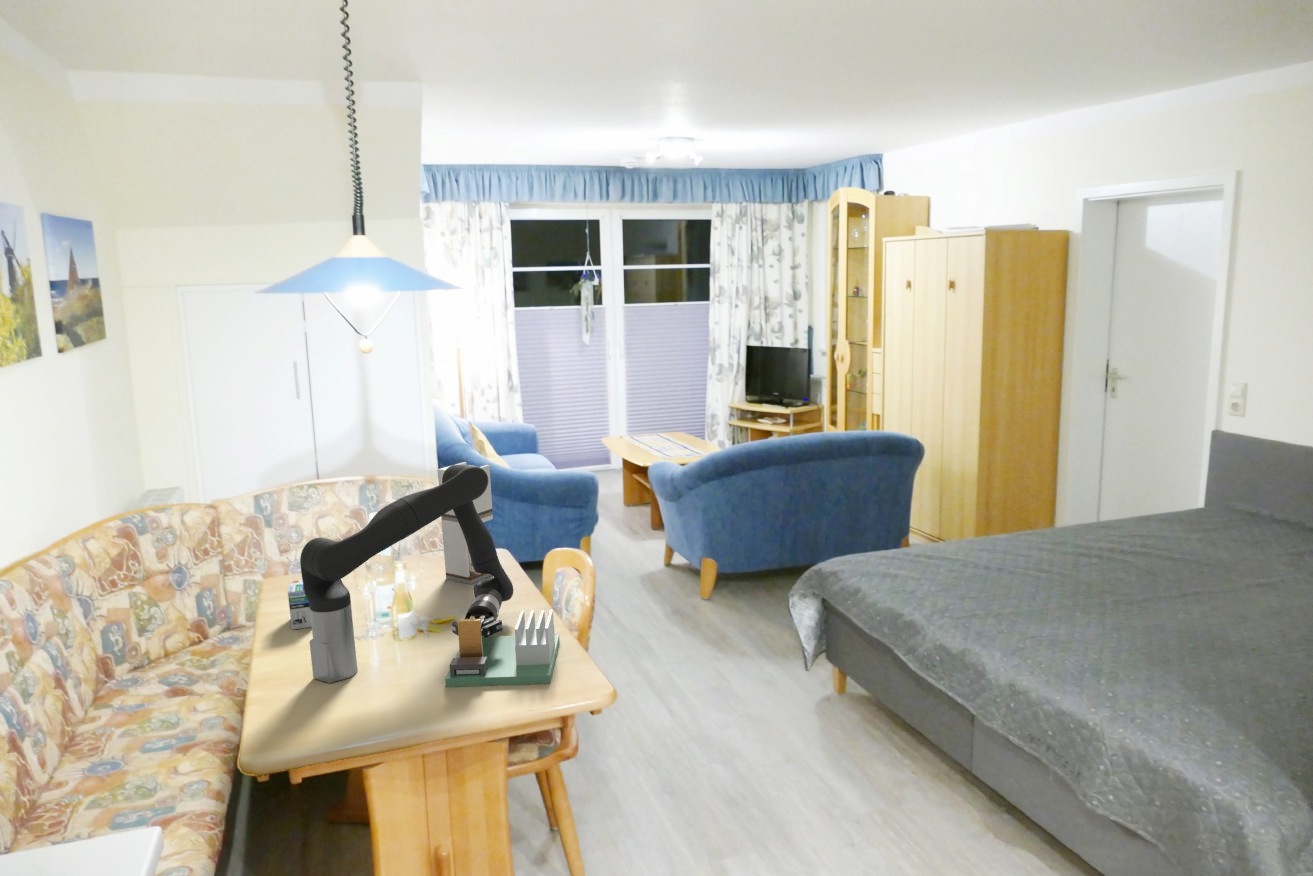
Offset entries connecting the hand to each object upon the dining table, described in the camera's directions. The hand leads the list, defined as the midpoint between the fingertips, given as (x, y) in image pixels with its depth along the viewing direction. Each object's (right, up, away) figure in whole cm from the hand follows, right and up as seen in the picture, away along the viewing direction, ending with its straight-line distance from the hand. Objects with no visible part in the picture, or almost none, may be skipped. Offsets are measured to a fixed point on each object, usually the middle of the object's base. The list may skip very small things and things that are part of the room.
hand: (470, 640), depth 215 cm
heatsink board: (+7, -7, +6) cm, 12 cm away
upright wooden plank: (0, -6, -2) cm, 6 cm away
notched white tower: (-14, +4, +71) cm, 72 cm away
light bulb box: (-53, -3, +37) cm, 65 cm away
